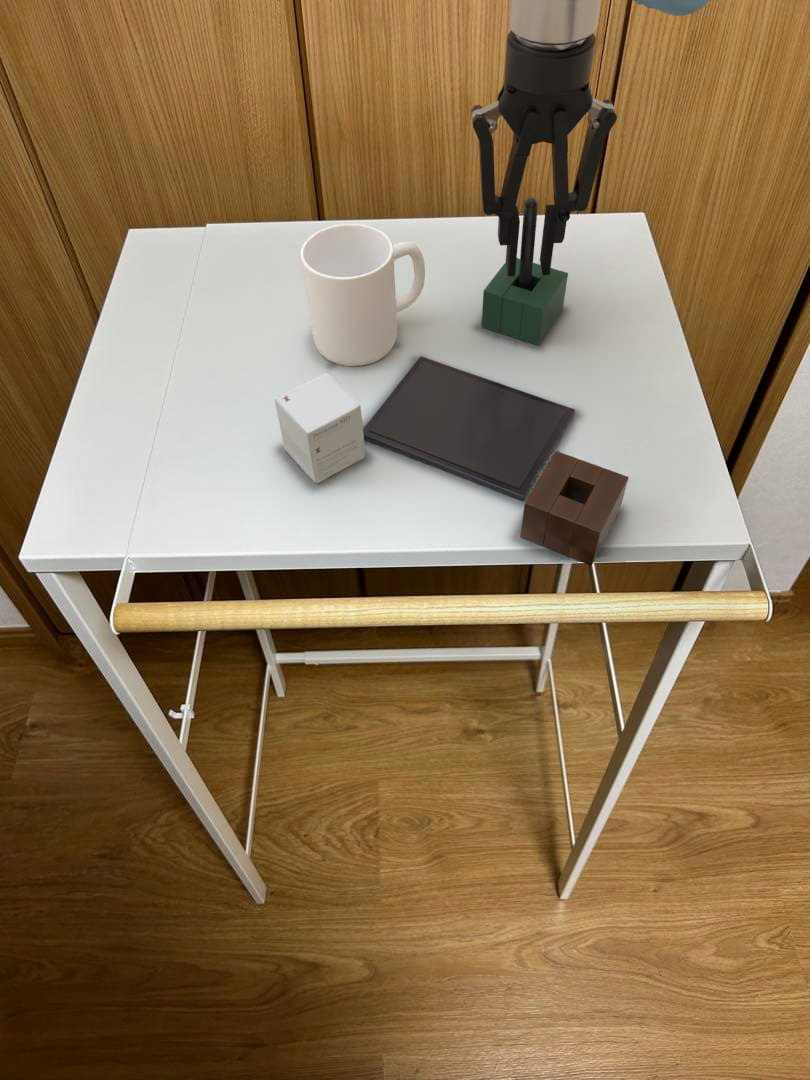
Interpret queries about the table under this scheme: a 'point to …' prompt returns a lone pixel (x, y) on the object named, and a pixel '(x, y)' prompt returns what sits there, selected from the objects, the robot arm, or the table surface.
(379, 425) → the tablet
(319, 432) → the product box
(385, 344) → the cup
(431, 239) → the table surface
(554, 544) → the holder
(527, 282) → the stylus
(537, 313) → the stand
